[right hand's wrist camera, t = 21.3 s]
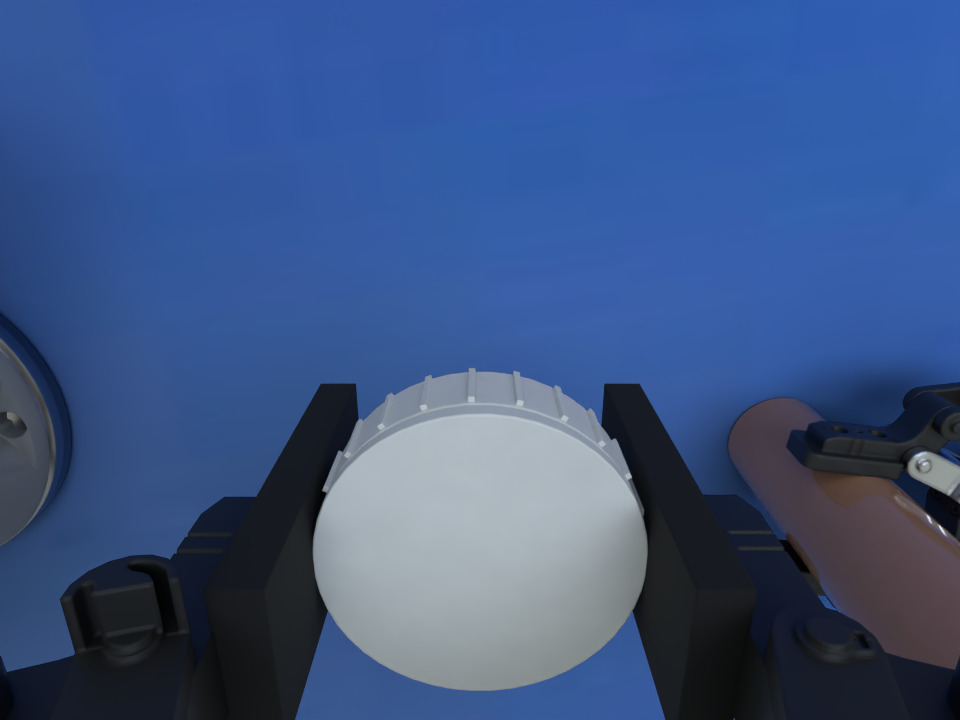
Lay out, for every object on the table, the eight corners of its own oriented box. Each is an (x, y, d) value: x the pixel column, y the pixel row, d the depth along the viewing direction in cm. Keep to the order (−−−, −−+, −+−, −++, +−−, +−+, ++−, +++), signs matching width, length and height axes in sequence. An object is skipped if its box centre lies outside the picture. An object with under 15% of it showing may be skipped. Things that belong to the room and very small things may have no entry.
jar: (839, 445, 34) (1214, 797, 17) (758, 496, 35) (1032, 877, 18) (792, 378, 32) (1148, 687, 15) (709, 434, 33) (954, 781, 16)
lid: (267, 470, 12) (233, 527, 10) (525, 304, 11) (533, 339, 9) (443, 663, 14) (439, 739, 12) (683, 537, 12) (714, 602, 11)
